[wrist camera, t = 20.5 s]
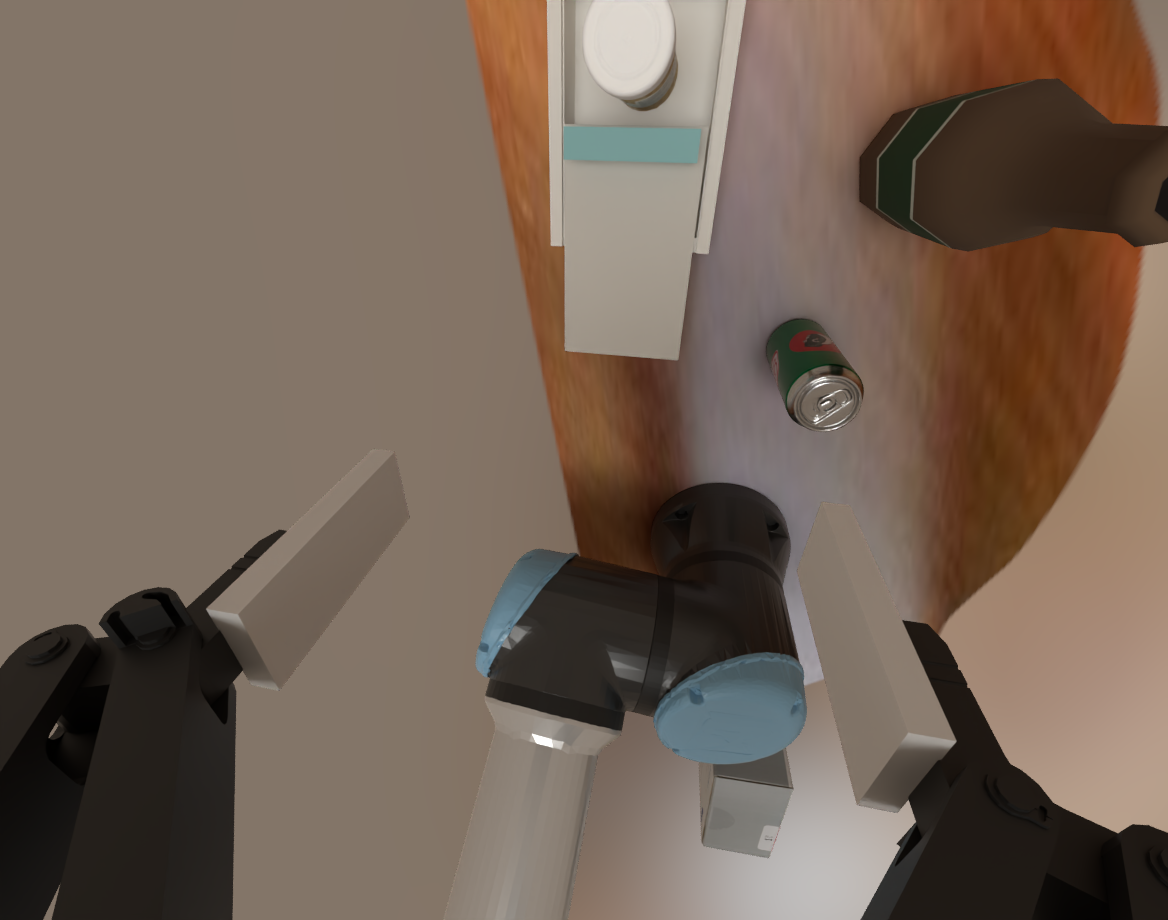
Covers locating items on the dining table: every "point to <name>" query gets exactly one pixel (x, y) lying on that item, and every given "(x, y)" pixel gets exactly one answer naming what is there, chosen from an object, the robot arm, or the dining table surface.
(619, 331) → the lid
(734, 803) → the hard drive box
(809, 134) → the dining table surface
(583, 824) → the robot arm
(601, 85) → the sprinkles bottle
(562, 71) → the mailer box
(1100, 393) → the dining table surface
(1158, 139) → the beer bottle
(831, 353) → the soda can
